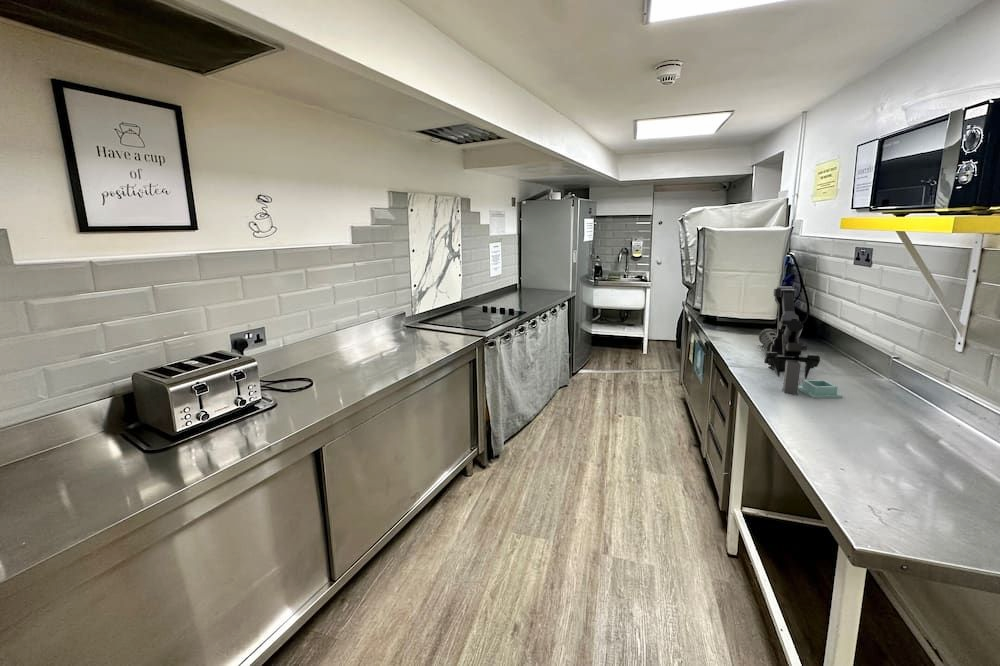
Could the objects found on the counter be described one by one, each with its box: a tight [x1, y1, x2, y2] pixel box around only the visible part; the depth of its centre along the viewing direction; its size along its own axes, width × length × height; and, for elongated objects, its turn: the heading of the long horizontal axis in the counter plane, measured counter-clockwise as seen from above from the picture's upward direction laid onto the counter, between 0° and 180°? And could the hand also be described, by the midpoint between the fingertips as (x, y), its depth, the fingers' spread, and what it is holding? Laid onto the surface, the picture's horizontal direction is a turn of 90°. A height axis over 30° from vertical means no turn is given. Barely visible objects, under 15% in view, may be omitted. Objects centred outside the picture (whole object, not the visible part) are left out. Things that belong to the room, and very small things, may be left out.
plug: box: [782, 360, 802, 395], centre depth 182 cm, size 4×4×13 cm
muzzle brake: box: [758, 328, 777, 352], centre depth 239 cm, size 10×28×10 cm, turn 158°
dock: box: [798, 379, 843, 399], centre depth 181 cm, size 11×11×4 cm
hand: (792, 377), depth 180 cm, fingers open, 9 cm apart
